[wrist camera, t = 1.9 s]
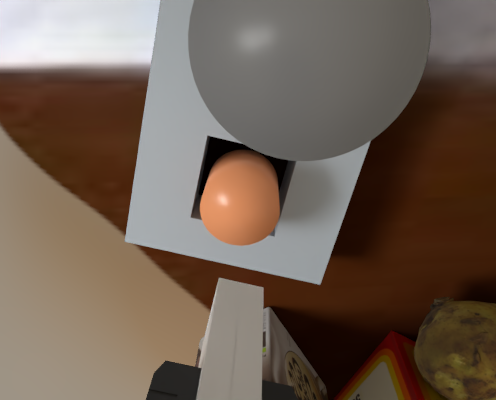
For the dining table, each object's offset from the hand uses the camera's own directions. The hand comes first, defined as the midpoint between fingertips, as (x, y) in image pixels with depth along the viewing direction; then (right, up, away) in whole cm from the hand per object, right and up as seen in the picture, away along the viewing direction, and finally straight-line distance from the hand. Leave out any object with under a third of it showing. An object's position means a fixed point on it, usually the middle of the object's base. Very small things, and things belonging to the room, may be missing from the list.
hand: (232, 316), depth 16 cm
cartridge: (+2, +14, +10) cm, 17 cm away
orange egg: (0, +5, +11) cm, 12 cm away
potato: (+17, -4, +18) cm, 25 cm away
